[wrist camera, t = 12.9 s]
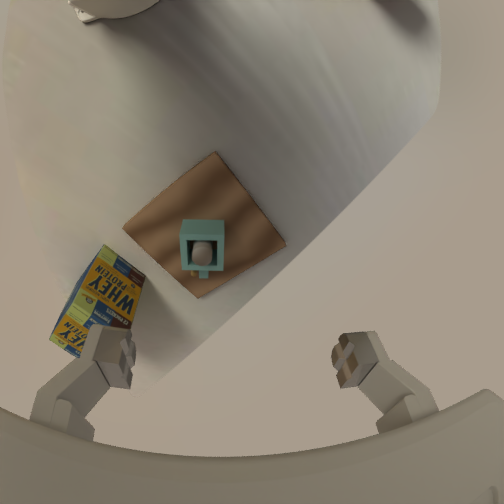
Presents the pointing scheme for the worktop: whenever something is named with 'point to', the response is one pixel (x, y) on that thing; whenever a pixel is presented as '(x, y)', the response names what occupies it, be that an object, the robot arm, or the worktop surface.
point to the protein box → (99, 300)
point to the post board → (205, 208)
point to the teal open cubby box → (202, 231)
